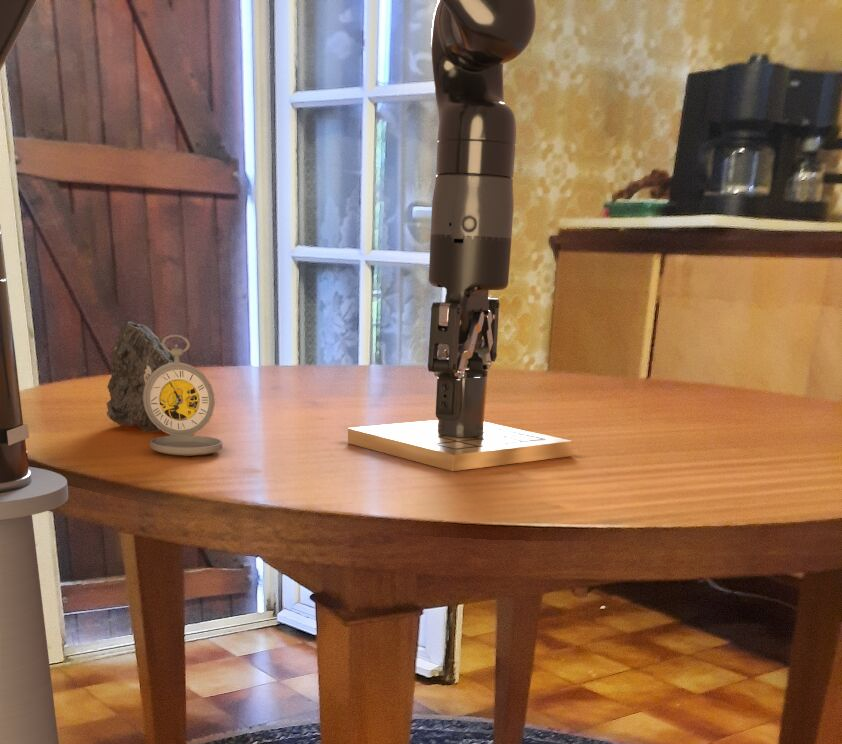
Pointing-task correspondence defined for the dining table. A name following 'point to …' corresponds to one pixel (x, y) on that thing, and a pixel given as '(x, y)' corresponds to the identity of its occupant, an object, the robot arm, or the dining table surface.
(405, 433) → the board
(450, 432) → the cylinder
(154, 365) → the rock
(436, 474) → the dining table surface
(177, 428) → the pocket watch
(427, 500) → the dining table surface
